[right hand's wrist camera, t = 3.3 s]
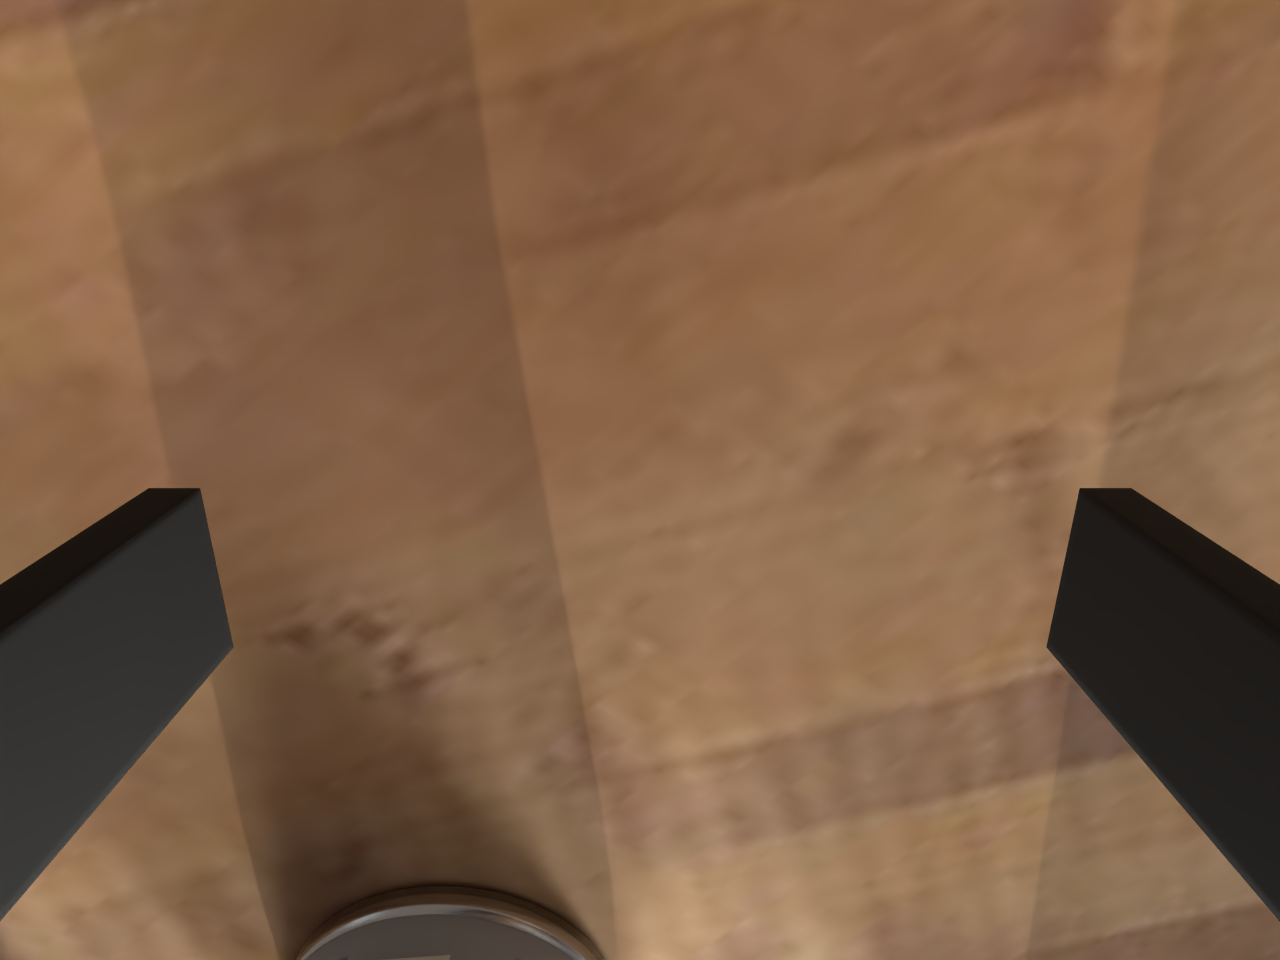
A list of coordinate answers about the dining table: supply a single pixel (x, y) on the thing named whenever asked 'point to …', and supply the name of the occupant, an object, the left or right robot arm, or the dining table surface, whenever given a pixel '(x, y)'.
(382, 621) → the dining table surface
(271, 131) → the dining table surface
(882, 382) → the dining table surface
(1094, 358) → the dining table surface
